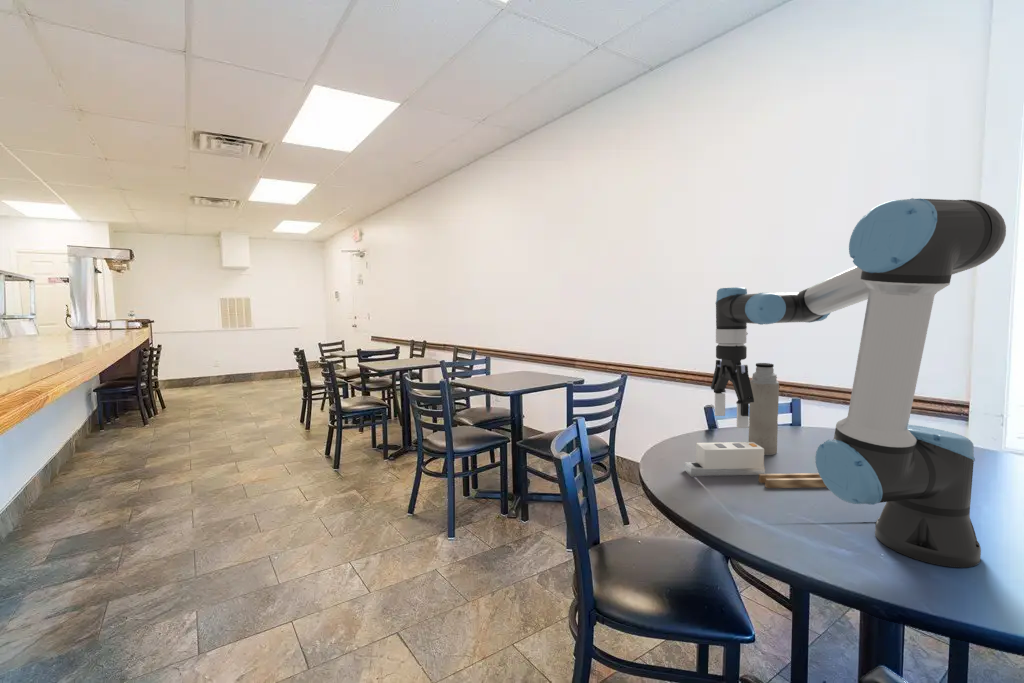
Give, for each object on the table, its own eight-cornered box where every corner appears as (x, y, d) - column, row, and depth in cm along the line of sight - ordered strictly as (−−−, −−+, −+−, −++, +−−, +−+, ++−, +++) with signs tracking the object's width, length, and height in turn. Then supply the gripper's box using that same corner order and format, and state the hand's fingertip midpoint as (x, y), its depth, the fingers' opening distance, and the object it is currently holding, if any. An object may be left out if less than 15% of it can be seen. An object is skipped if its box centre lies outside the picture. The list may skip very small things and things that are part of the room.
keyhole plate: (764, 475, 124) (765, 467, 124) (691, 476, 124) (691, 468, 124) (755, 469, 129) (756, 461, 129) (684, 470, 129) (684, 462, 129)
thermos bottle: (768, 446, 148) (770, 361, 145) (782, 454, 140) (785, 365, 137) (743, 446, 148) (745, 362, 146) (756, 455, 140) (758, 365, 138)
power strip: (752, 467, 129) (753, 441, 129) (763, 475, 123) (764, 448, 123) (695, 468, 130) (696, 442, 129) (704, 476, 124) (704, 448, 123)
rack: (820, 481, 119) (820, 473, 119) (830, 488, 115) (831, 479, 115) (758, 482, 120) (758, 473, 119) (767, 489, 115) (767, 480, 115)
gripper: (770, 348, 111) (768, 433, 112) (724, 341, 136) (724, 410, 137) (738, 348, 111) (738, 433, 113) (699, 341, 136) (699, 411, 137)
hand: (730, 421), depth 125 cm, fingers open, 13 cm apart
